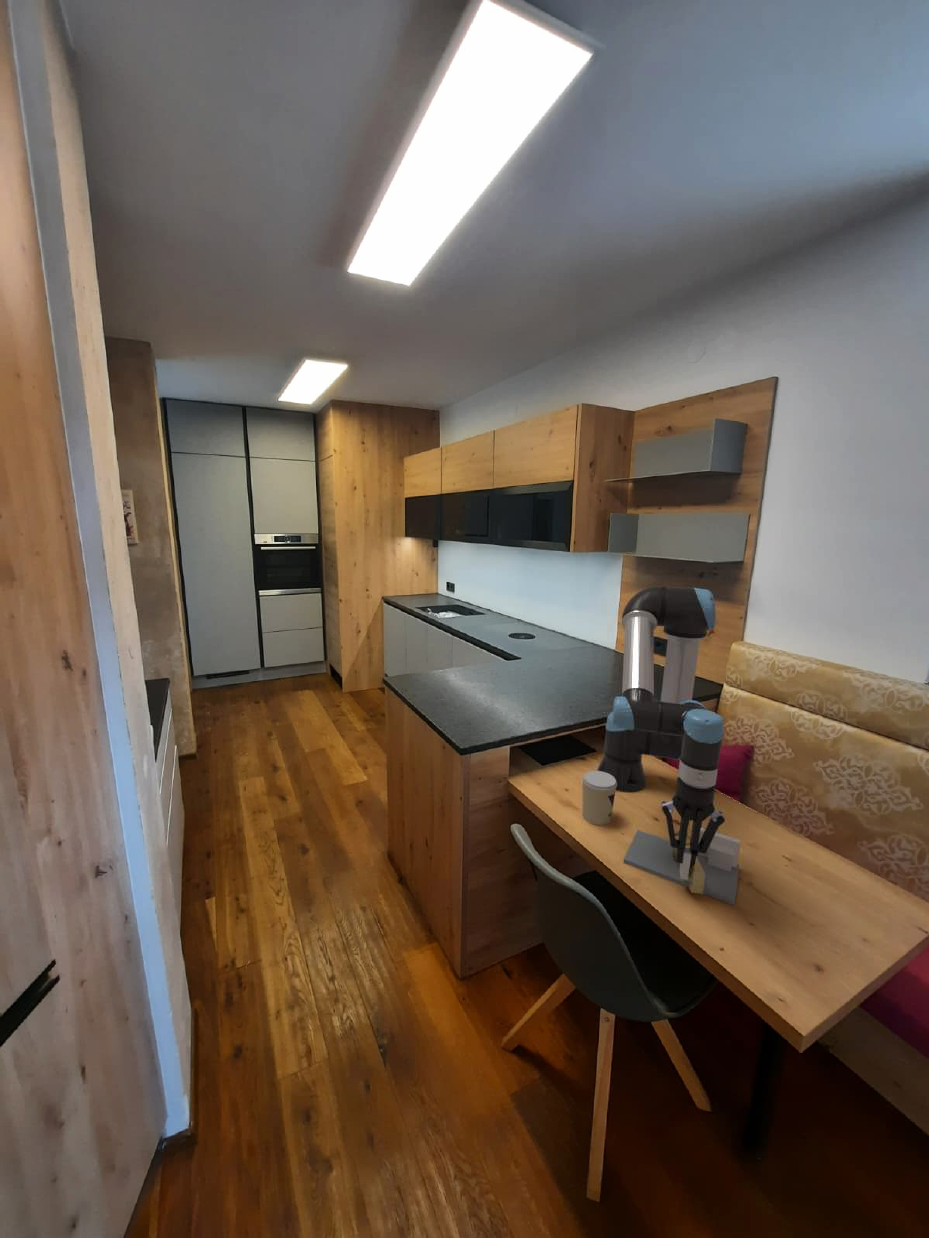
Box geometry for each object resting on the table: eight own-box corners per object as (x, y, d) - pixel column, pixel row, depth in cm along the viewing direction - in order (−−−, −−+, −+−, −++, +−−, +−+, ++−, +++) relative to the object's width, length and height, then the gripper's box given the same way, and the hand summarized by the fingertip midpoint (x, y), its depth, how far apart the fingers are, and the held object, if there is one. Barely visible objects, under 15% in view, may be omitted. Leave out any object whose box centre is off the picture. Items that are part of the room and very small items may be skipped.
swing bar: (670, 851, 120) (672, 831, 119) (685, 852, 119) (687, 833, 118) (688, 892, 106) (691, 870, 105) (705, 894, 106) (708, 872, 105)
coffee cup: (615, 829, 131) (618, 789, 128) (580, 824, 132) (583, 784, 130) (611, 809, 140) (615, 772, 137) (579, 805, 141) (582, 768, 139)
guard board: (637, 833, 129) (640, 804, 128) (738, 868, 116) (743, 837, 115) (623, 862, 118) (626, 831, 116) (734, 905, 105) (739, 871, 103)
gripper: (666, 783, 103) (654, 879, 107) (733, 795, 99) (718, 894, 104) (662, 767, 110) (652, 858, 114) (725, 777, 106) (711, 870, 111)
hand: (683, 875), depth 109 cm, fingers closed
